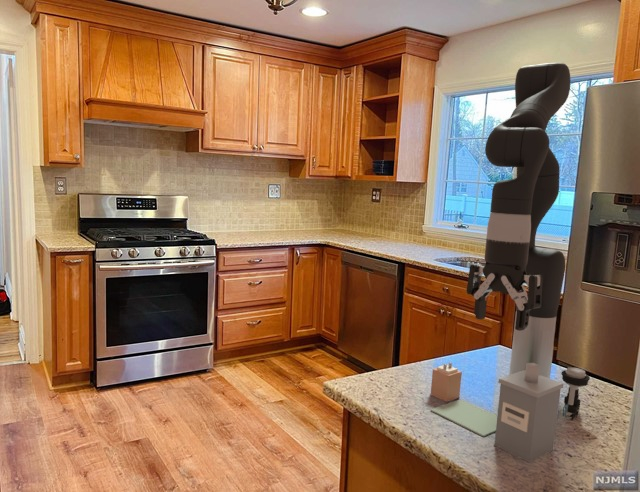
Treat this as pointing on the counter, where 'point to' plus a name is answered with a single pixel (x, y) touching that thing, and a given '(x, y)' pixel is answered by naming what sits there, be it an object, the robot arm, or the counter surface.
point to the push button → (573, 390)
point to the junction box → (527, 413)
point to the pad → (468, 416)
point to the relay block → (446, 382)
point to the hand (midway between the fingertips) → (499, 324)
